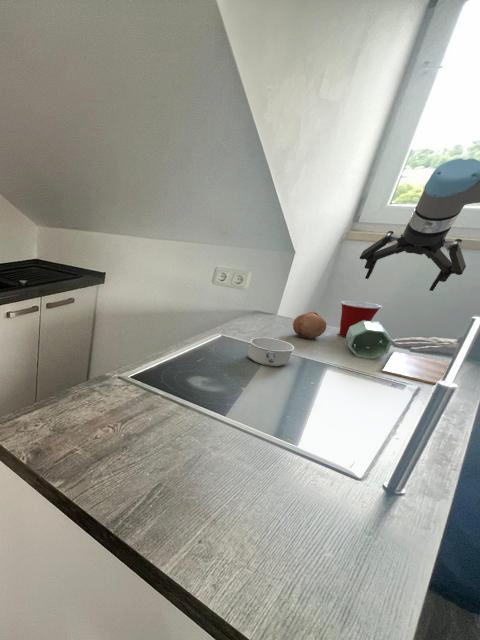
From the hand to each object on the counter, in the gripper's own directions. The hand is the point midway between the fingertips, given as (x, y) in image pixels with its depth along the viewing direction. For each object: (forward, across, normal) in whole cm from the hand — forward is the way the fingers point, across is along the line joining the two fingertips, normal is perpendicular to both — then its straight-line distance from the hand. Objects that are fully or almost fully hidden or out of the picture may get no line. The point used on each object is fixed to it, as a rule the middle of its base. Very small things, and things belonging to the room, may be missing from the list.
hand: (399, 281), depth 109 cm
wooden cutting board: (+20, +13, -13) cm, 27 cm away
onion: (+28, -16, -8) cm, 33 cm away
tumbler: (+23, 0, -10) cm, 26 cm away
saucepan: (+5, -18, -36) cm, 41 cm away
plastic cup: (+35, -5, +2) cm, 35 cm away
